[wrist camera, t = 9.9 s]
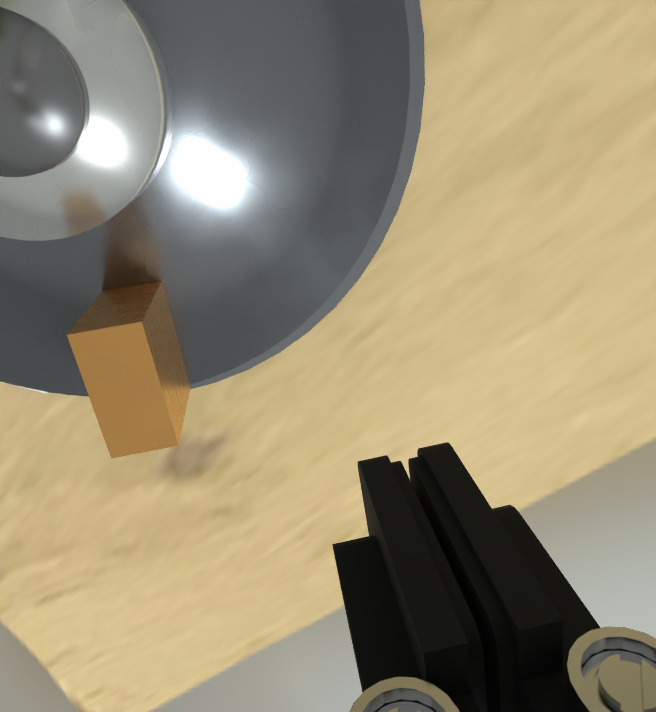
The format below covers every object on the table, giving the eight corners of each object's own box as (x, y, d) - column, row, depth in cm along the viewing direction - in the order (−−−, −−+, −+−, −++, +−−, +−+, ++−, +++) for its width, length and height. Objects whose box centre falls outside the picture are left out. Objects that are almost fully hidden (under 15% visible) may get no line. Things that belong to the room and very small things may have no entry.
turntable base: (-506, -328, 14) (-577, -370, 12) (378, -431, 15) (389, -478, 14) (-89, 434, 23) (-107, 452, 22) (438, 329, 24) (448, 341, 23)
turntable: (-493, -322, 13) (-960, -596, 8) (361, -405, 14) (425, -686, 9) (-99, 422, 21) (-205, 518, 16) (419, 327, 22) (469, 389, 17)
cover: (-133, -26, 15) (-250, -67, 11) (135, -66, 15) (102, -118, 12) (-24, 238, 18) (-89, 270, 14) (199, 199, 18) (188, 220, 15)
